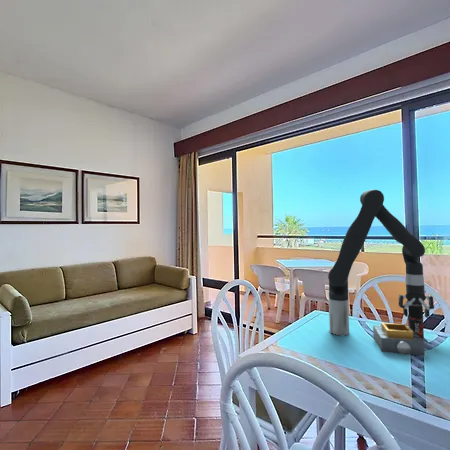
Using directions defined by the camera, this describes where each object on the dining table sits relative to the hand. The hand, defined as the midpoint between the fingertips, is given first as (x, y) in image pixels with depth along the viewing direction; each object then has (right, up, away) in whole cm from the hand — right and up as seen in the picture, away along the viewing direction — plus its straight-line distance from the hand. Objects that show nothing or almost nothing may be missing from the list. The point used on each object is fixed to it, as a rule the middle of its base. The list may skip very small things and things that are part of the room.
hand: (416, 316), depth 139 cm
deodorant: (0, -10, 0) cm, 10 cm away
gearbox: (-15, -10, -10) cm, 21 cm away
